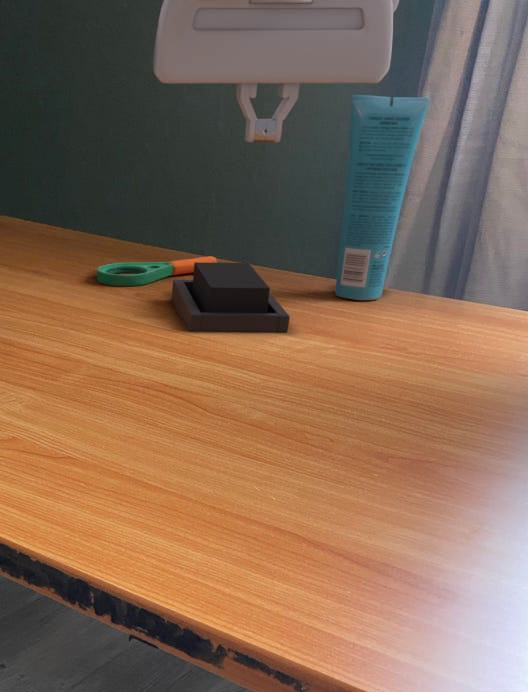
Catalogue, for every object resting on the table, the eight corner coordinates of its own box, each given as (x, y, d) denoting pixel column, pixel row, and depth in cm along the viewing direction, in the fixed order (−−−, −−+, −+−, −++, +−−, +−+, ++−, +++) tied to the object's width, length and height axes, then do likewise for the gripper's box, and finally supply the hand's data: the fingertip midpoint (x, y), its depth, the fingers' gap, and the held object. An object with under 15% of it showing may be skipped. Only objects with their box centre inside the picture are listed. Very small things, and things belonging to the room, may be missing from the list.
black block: (244, 298, 104) (248, 262, 102) (265, 326, 95) (270, 287, 93) (191, 298, 104) (194, 262, 102) (206, 326, 95) (210, 287, 93)
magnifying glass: (112, 288, 110) (113, 272, 109) (87, 277, 114) (87, 261, 113) (226, 276, 115) (228, 261, 114) (197, 266, 120) (199, 251, 119)
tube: (387, 292, 110) (424, 95, 100) (396, 302, 106) (435, 98, 96) (319, 289, 111) (349, 93, 100) (325, 300, 106) (357, 96, 96)
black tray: (257, 300, 106) (259, 280, 105) (286, 338, 94) (290, 315, 92) (171, 299, 106) (173, 279, 105) (189, 337, 93) (191, 314, 92)
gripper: (394, -43, 85) (367, 138, 92) (155, -42, 85) (147, 138, 92) (418, -48, 79) (387, 144, 87) (163, -47, 79) (154, 145, 87)
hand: (262, 141), depth 89 cm, fingers closed
